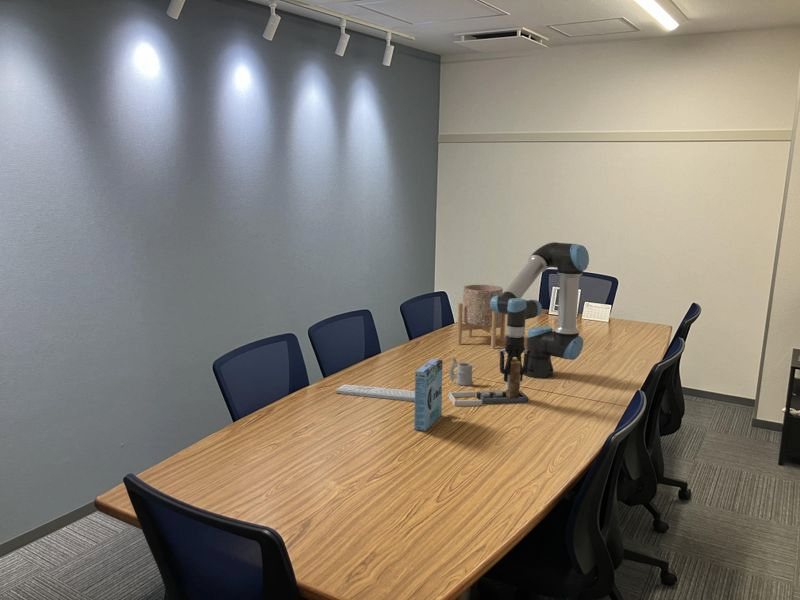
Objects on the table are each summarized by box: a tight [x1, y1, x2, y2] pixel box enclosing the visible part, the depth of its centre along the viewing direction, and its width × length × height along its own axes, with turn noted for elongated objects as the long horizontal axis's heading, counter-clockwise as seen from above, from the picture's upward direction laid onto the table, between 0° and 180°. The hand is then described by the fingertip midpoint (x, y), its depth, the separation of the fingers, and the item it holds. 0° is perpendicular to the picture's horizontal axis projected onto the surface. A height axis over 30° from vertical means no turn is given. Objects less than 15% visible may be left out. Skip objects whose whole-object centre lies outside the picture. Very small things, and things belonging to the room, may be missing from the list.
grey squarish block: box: [479, 390, 490, 399], centre depth 283 cm, size 3×4×4 cm
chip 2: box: [492, 389, 503, 398], centre depth 284 cm, size 3×4×4 cm
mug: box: [449, 357, 474, 387], centre depth 306 cm, size 8×12×12 cm, turn 55°
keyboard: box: [334, 384, 415, 403], centre depth 292 cm, size 44×12×2 cm, turn 75°
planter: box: [456, 284, 507, 350], centre depth 383 cm, size 22×23×32 cm
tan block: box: [505, 357, 522, 397], centre depth 283 cm, size 4×5×17 cm
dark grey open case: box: [475, 390, 529, 405], centre depth 284 cm, size 20×10×3 cm, turn 99°
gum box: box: [413, 358, 443, 432], centre depth 257 cm, size 20×5×23 cm, turn 158°
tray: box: [447, 390, 483, 407], centre depth 282 cm, size 12×12×3 cm
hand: (512, 388), depth 284 cm, fingers closed on tan block, 4 cm apart
